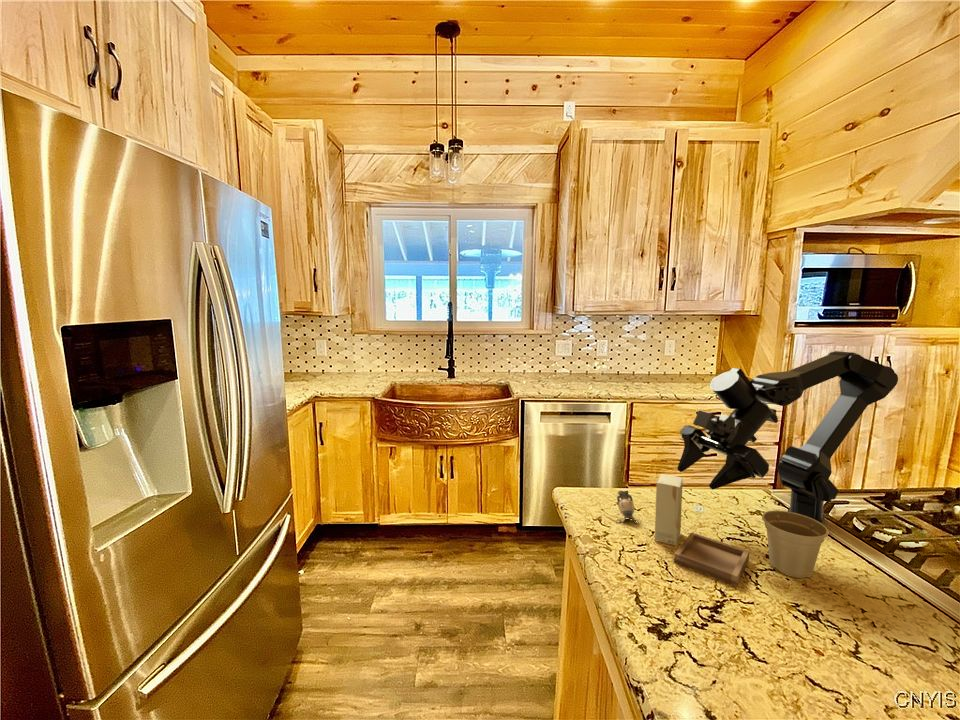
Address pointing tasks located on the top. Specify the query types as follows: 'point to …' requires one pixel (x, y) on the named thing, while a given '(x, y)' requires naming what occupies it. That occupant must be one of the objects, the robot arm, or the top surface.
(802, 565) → the flower pot
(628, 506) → the vase
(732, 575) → the walnut tray
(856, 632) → the top surface
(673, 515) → the skincare box
